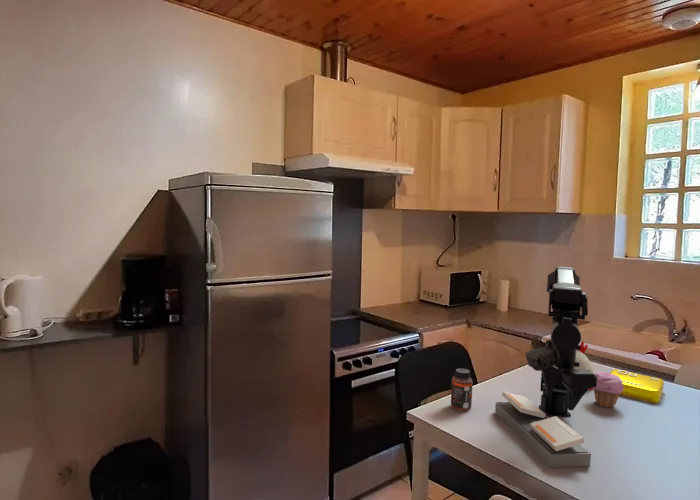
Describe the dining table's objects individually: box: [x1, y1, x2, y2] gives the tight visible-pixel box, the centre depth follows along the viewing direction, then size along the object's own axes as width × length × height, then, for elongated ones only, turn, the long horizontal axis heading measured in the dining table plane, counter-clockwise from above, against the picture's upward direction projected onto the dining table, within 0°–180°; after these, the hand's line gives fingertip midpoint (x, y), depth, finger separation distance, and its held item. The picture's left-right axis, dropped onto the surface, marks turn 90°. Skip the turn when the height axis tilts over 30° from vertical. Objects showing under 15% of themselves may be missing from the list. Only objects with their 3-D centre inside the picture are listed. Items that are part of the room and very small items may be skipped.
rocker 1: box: [501, 390, 547, 418], centre depth 121 cm, size 7×11×1 cm, turn 7°
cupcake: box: [593, 371, 623, 408], centre depth 134 cm, size 9×9×10 cm
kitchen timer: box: [573, 340, 596, 391], centre depth 152 cm, size 14×14×15 cm
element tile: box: [610, 368, 665, 404], centre depth 147 cm, size 15×15×5 cm
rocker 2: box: [530, 416, 585, 451], centre depth 105 cm, size 7×11×1 cm, turn 6°
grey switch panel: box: [494, 401, 592, 469], centre depth 114 cm, size 10×28×3 cm, turn 6°
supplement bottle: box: [450, 368, 474, 412], centre depth 129 cm, size 6×6×11 cm
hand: (559, 401), depth 106 cm, fingers open, 9 cm apart
